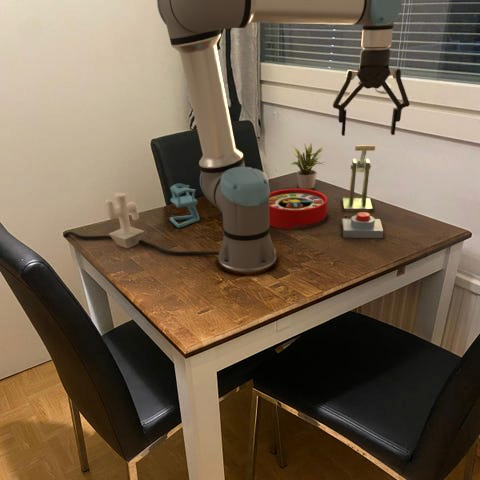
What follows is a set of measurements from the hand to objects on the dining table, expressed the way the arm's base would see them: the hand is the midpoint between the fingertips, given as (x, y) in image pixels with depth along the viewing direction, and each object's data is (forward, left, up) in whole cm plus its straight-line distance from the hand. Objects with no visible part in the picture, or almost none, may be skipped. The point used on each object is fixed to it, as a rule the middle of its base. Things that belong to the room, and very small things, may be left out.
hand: (367, 134), depth 139 cm
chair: (-54, -4, -25) cm, 60 cm away
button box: (0, -10, -25) cm, 27 cm away
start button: (0, -10, -21) cm, 24 cm away
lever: (0, +6, -9) cm, 11 cm away
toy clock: (-20, +1, -25) cm, 32 cm away
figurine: (-67, -22, -25) cm, 75 cm away
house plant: (-16, +27, -25) cm, 40 cm away
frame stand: (0, +11, -25) cm, 27 cm away
